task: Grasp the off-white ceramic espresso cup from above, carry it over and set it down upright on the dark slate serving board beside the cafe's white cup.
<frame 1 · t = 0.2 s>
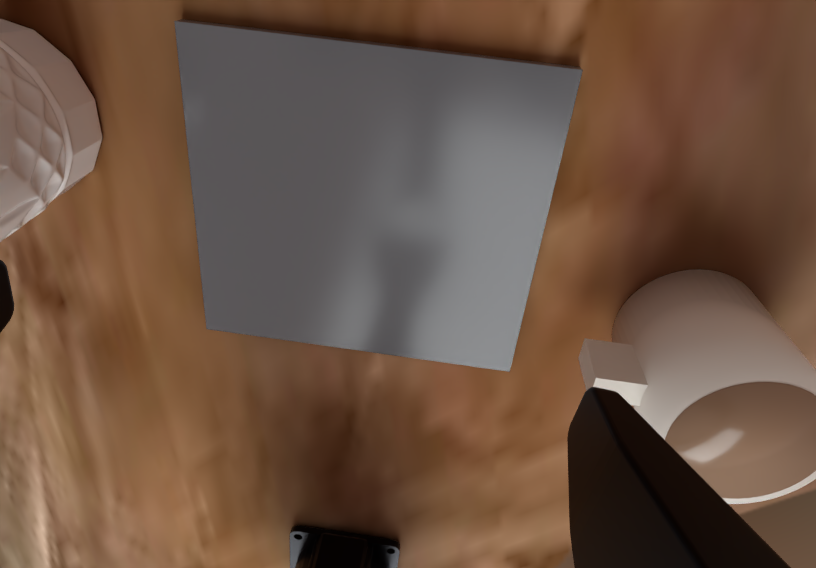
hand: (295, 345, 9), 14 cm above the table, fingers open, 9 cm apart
slate board: (367, 214, 23), on the table
espresso cup: (684, 330, 24), on the table
white cup: (23, 108, 23), on the table
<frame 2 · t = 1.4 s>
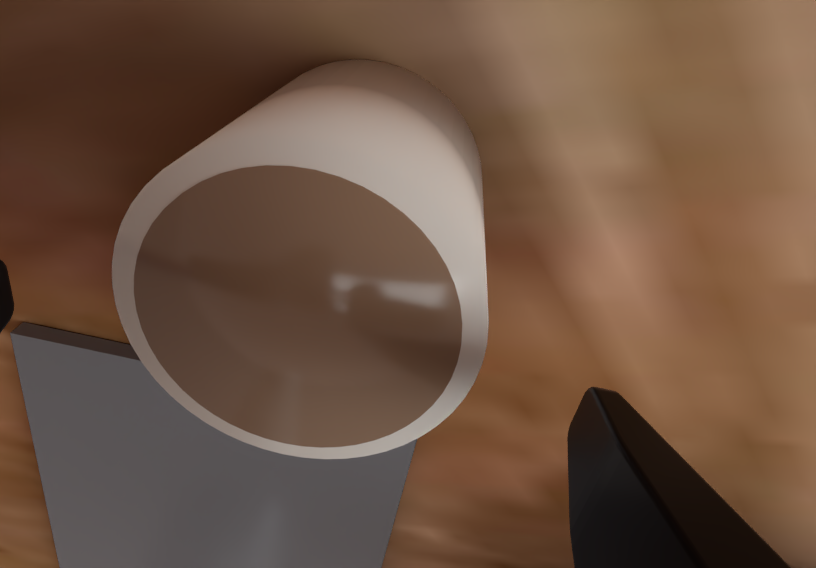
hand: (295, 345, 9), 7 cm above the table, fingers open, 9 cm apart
slate board: (220, 506, 22), on the table
espresso cup: (364, 183, 15), on the table
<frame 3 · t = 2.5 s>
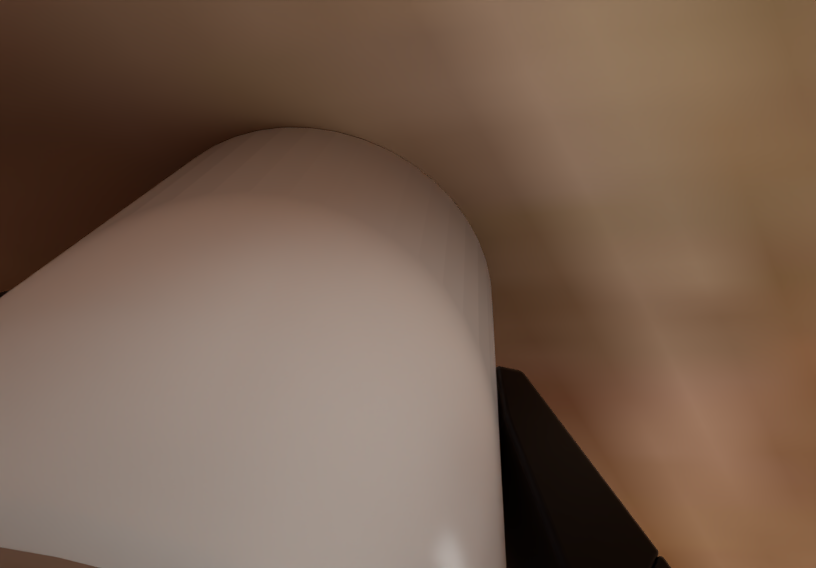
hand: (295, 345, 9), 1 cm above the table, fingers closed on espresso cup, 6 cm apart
espresso cup: (315, 302, 10), on the table, touching gripper
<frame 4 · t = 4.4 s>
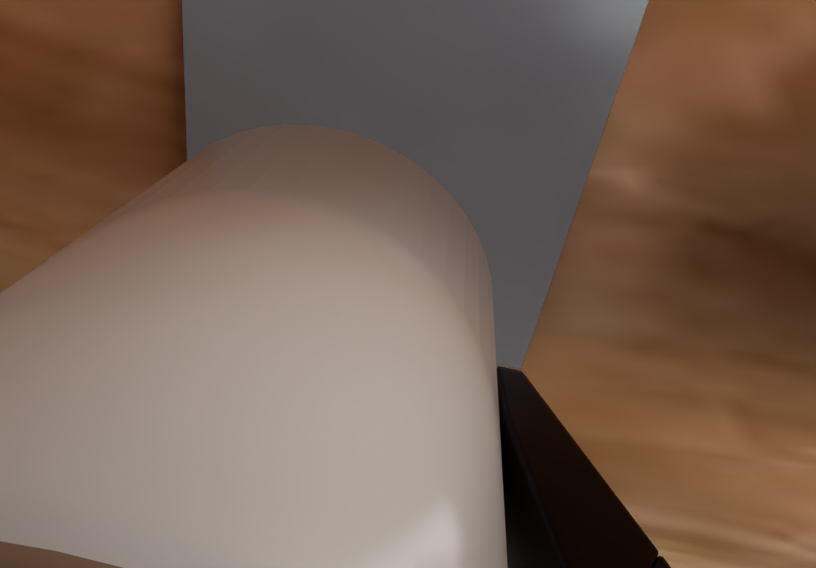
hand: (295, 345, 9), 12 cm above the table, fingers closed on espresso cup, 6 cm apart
slate board: (384, 158, 19), on the table
espresso cup: (315, 300, 10), point 10 cm above the table, touching gripper
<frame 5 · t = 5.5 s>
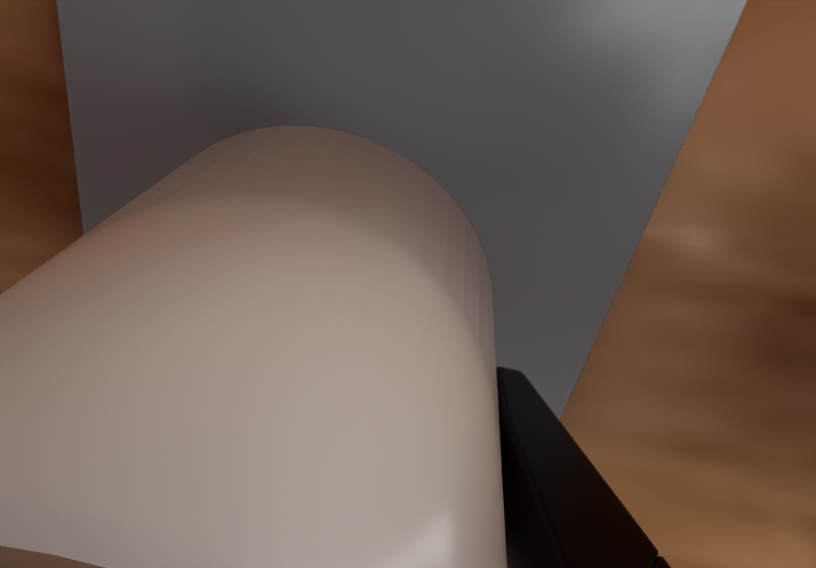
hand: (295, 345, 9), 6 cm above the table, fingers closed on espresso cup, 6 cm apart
slate board: (355, 203, 14), on the table
espresso cup: (315, 301, 10), point 4 cm above the table, touching gripper
when the fingers open (3 cm above the table, at t = 6.5 s): espresso cup stays where it is, resting on slate board.
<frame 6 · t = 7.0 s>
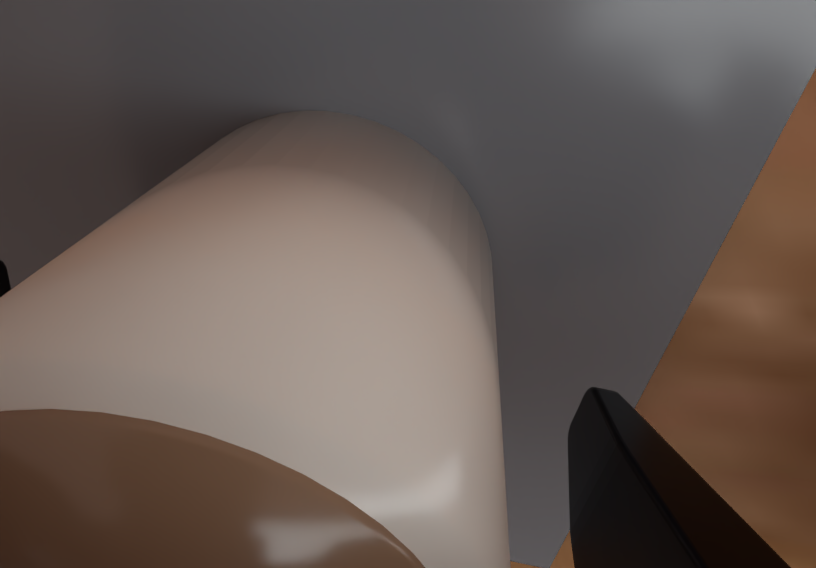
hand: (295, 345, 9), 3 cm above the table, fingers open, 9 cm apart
slate board: (332, 261, 11), on the table
espresso cup: (329, 275, 11), point 1 cm above the table, touching slate board
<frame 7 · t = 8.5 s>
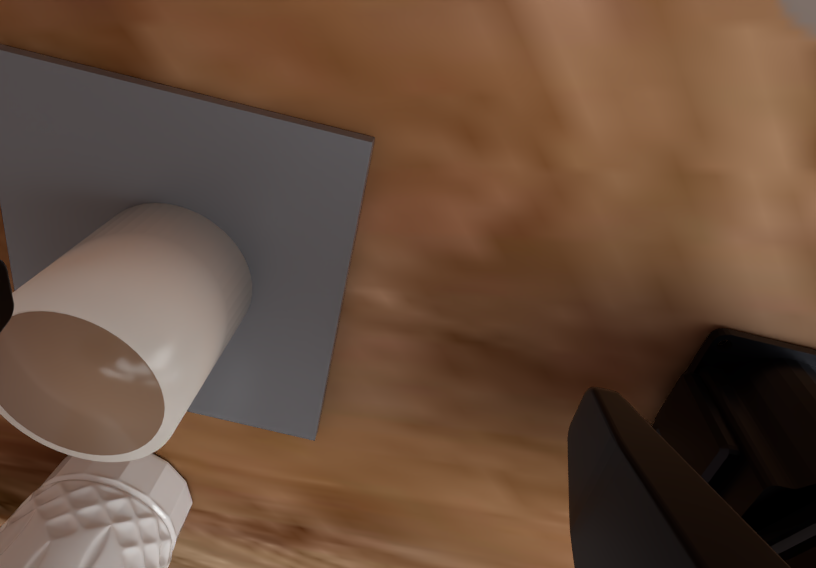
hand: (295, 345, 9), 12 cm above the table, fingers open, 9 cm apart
slate board: (180, 268, 22), on the table
espresso cup: (175, 276, 22), point 1 cm above the table, touching slate board
white cup: (131, 482, 30), on the table
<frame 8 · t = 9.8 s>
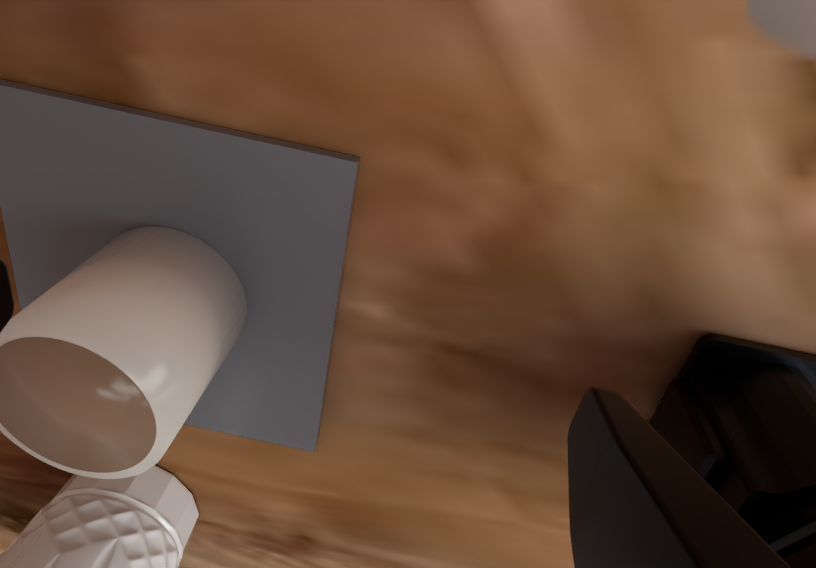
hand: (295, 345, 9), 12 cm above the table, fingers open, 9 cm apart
slate board: (178, 288, 23), on the table
espresso cup: (173, 295, 22), point 1 cm above the table, touching slate board
white cup: (139, 495, 30), on the table
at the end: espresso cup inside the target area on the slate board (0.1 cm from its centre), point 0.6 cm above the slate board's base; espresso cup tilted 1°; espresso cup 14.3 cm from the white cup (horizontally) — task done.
